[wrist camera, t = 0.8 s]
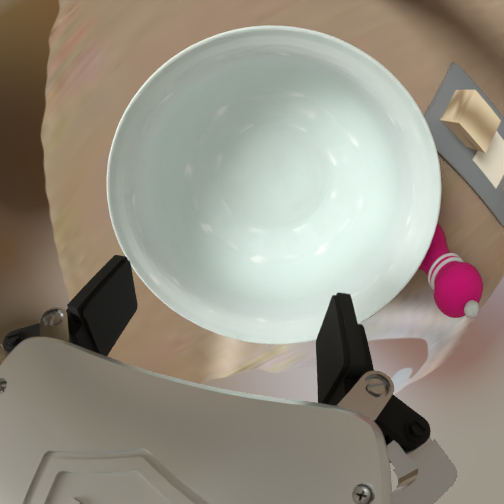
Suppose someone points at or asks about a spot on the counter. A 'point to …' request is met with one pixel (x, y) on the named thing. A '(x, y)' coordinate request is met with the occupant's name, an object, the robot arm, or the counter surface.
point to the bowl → (273, 183)
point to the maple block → (471, 119)
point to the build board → (464, 158)
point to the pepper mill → (451, 279)
